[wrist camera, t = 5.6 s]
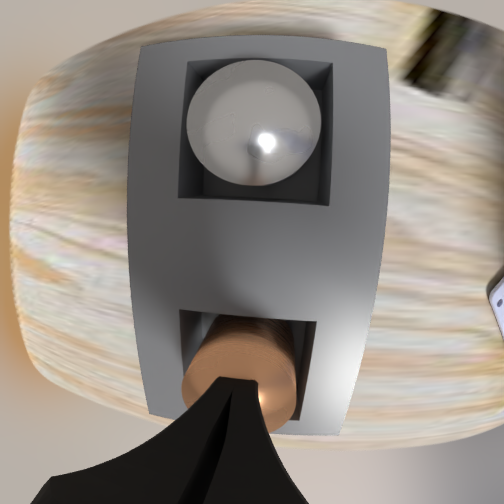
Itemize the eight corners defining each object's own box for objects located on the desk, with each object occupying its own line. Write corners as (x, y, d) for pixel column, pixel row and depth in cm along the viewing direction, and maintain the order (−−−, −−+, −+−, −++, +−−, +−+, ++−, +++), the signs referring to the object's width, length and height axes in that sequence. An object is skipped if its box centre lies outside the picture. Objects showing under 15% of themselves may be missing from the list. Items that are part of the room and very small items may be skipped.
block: (330, 385, 15) (338, 435, 11) (174, 370, 16) (149, 413, 12) (361, 82, 12) (386, 49, 8) (175, 77, 12) (141, 46, 9)
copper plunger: (289, 381, 13) (288, 441, 9) (208, 373, 14) (186, 428, 10) (299, 308, 12) (303, 358, 9) (207, 300, 13) (177, 345, 9)
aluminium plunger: (307, 189, 12) (318, 189, 8) (213, 184, 13) (183, 183, 9) (310, 98, 11) (321, 63, 7) (218, 96, 12) (192, 62, 8)
